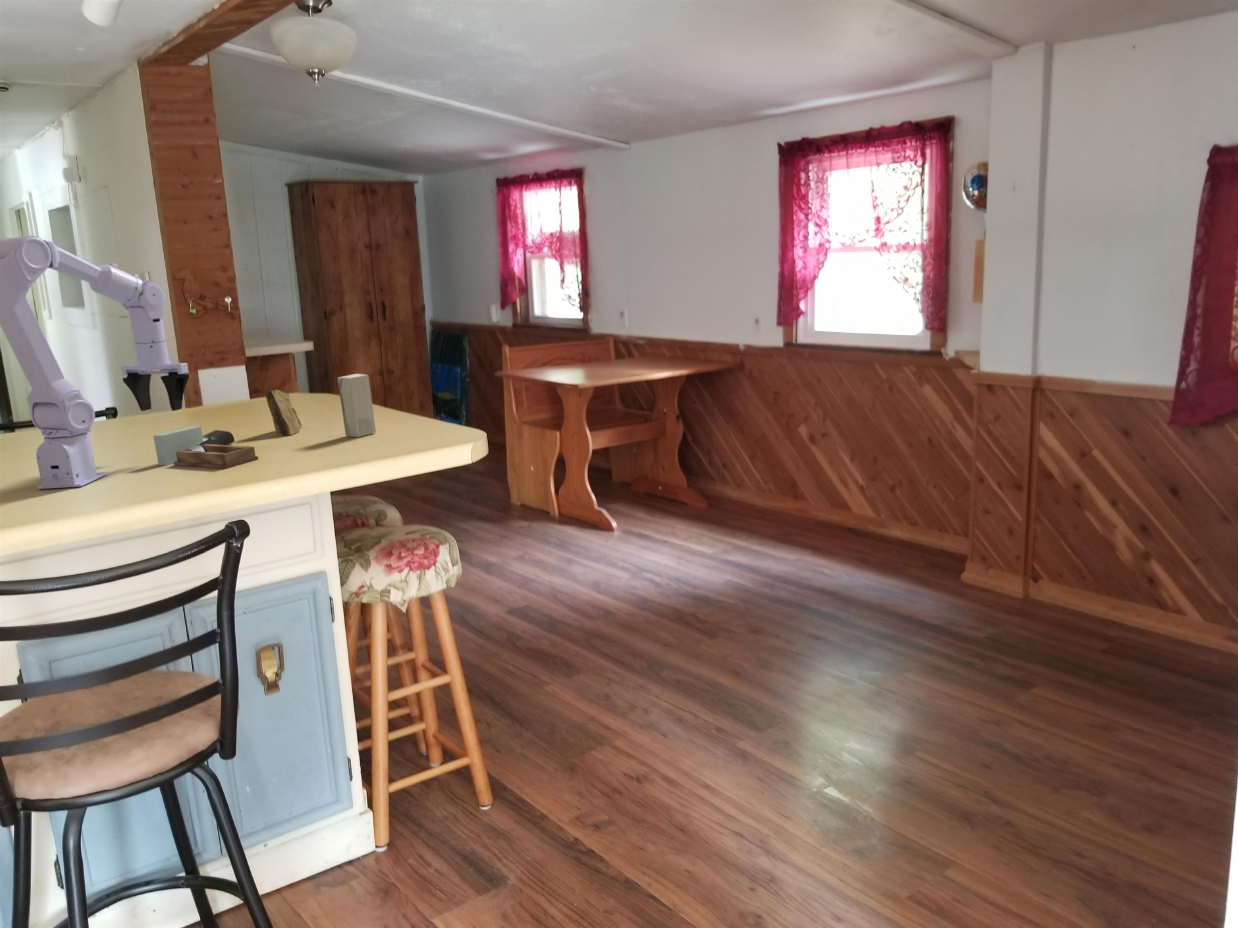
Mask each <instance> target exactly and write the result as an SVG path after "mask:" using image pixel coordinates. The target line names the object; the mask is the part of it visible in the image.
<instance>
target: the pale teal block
mask: <svg viewBox="0 0 1238 928" xmlns="http://www.w3.org/2000/svg"><path fill="white" fill-rule="evenodd" d="M153 440H154V441H153V442H154V446H155V453H156V458H157V463H158V466H167V467H168V466H172V465H174V462H176V461H177V455H176V451H180V450H186V449H187V448H188V447H189V446H192V445H196V444H198V443H202V442H204V436H203V430H202V426H194V425H192V426H189V427H188V426H187V427H183V428H180V429H179V428H178V429H175V430H170V431H166V432H163V433H158V434H154V435H153Z"/></svg>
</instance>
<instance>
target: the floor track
mask: <svg viewBox="0 0 1238 928" xmlns="http://www.w3.org/2000/svg"><path fill="white" fill-rule="evenodd" d="M201 446H202V447H204V448H205V449H206V451H207V452H201V451H185V450H180V451H176V455H177V461H176V462H174V464H173V465H174V466H184V467H194V468H207V469H210V468H211V469H220V470H221V469H222V470H223V469H225V470H226V469H227V470H228V469H229V468H234V467H236V466H237V467H238V466H239V465H243V464H247V463H250V462H253V461H258V460H259V456H256V450H255V446H245V445H230V444H214V443H213V444H212V443H211V444H210V443H204V445H201Z"/></svg>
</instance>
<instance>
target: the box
mask: <svg viewBox="0 0 1238 928" xmlns="http://www.w3.org/2000/svg"><path fill="white" fill-rule="evenodd" d="M337 383H338V384H337V385H338V390H339V398H340V403H341V412H342V419H343V420H342V421H343V425H344V432H345V433H344V434H345V436H347V437H350V438H351V437H353V438H360V437H361V438H362V437H365V436H369V435H372V434H376V433H377V429H376V422H375V421H376V420H375V415H374V408H373V399H372V393H371V385H370V379H369V374H364V373H354V374H353V373H352V374H348V375H344V376H343V375H342V376H339V377H337Z"/></svg>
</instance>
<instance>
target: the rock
mask: <svg viewBox="0 0 1238 928" xmlns="http://www.w3.org/2000/svg"><path fill="white" fill-rule="evenodd" d="M265 399H266V402H267V406H268V408H269V412H270V415H271V417H272V422H273V427H274V430H275V433H276V435H278V436H285V437H286V436H287V437H289V436H290V437H291V436H294V434H295V435H296V434H297V433H299V432H300V431H301V427H302V426H303V424H302V422H301V420H300V418H299V416H298V413H297V411H296V409H295V408H294V407H293V405H292V403H291V401H290V394H289V393H287V392H286V393H285V392H284V391H281V390H279V389H273V390H269V391H268V392H266V394H265Z"/></svg>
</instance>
